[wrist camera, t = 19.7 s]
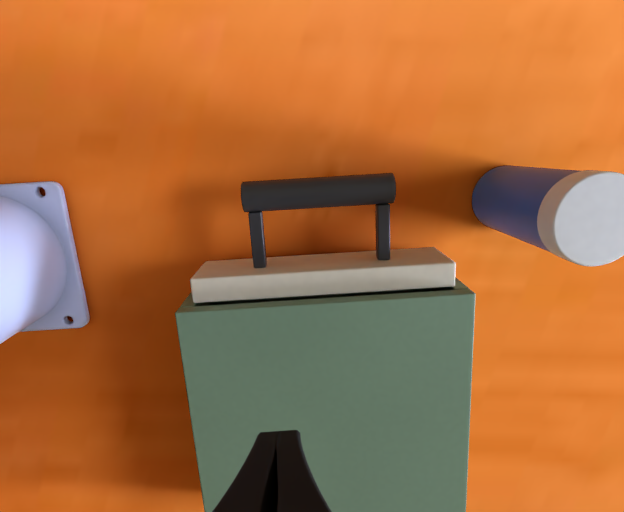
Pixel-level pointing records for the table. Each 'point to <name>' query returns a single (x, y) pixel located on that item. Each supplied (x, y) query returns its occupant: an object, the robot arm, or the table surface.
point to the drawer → (321, 267)
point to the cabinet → (337, 392)
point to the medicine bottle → (556, 210)
